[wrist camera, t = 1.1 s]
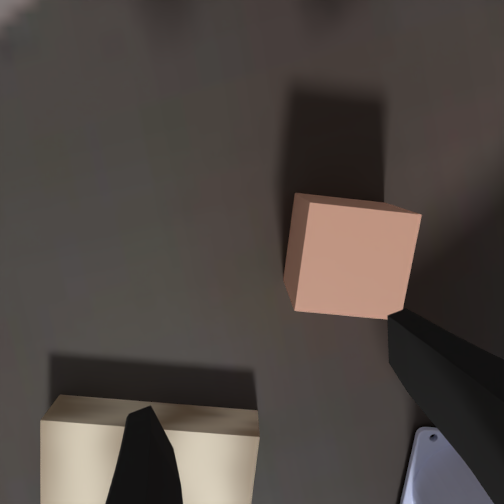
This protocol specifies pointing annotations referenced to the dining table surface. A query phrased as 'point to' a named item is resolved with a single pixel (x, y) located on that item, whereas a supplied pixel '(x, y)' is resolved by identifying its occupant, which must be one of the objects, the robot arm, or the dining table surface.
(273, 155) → the dining table surface
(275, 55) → the dining table surface
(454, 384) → the robot arm
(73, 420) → the birch block
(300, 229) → the terracotta cube
